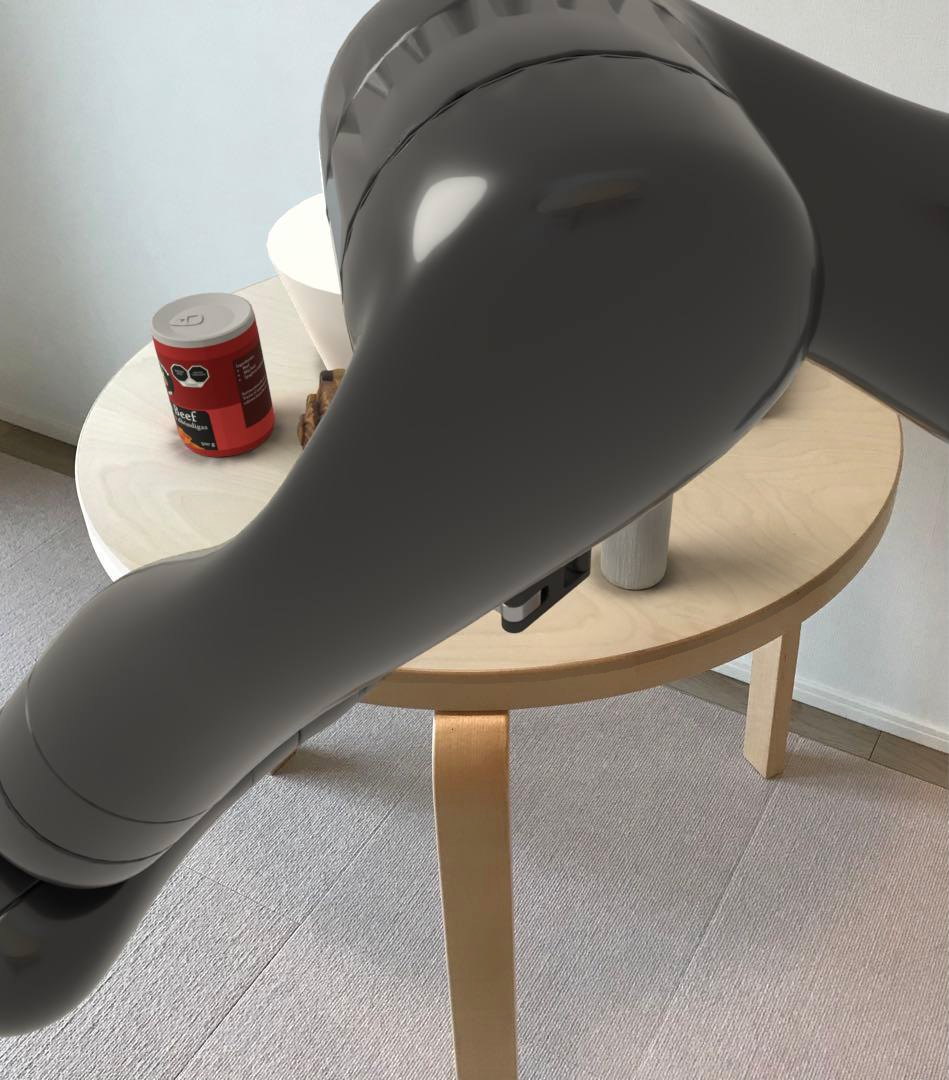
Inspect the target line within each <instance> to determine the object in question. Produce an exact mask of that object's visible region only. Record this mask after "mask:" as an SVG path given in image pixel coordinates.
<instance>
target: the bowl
mask: <svg viewBox="0 0 949 1080" xmlns="http://www.w3.org/2000/svg"><path fill="white" fill-rule="evenodd" d="M266 249H267V252H268V253H267V254H268V257H269V259H270V261H271V263H272V266H273V267H274V269H275V271H276V273H277V275H278V277H279V279H280V280H281V282H282V284H283V286H284V289H285V291H286V292H287V294H288V297H289V298H290V300H291V302H292V304H293V306H294V307H295V310H296V311H297V314H298V315H299V317H300V319H301V321H302V323H303V325H304V327H305V329H306V331H307V333H308V335H309V337H310V339H311V340H312V342H313V345H314V346H315V348H316V350H317V352H318V355H319V356H320V358H321V360H322V362H323V364H324V366H325V368H326V370H334V369H345V370H346V369H347V367H348V365H349V363H350V361H351V359H352V356H353V351H352V348H351V344H350V341H349V337H348V333H347V328H346V323H345V318H344V312H343V304H342V297H341V292H340V286H339V280H338V275H337V269H336V264H335V258H334V252H333V247H332V241H331V234H330V226H329V222H328V219H327V215H326V211H325V203H324V195H323V191H322V192H320V193H318V194H315V195H313V196H311V197H308V198H306V199H305V200H302V201H301V202H299V203H298V204H296V205H295V206H293V207H292V208H290V209H289V210H287V212H285V213H283V215H282V216H281V217H280V218H278V220H276V221H275V223H274V224H273V226H272V228H271V229H270V231H269V232H268V236H267V241H266Z"/></svg>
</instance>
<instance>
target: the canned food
mask: <svg viewBox="0 0 949 1080" xmlns="http://www.w3.org/2000/svg"><path fill="white" fill-rule="evenodd" d="M149 327H150V335H151V337H152V342H153V345H154V349H155V353H156V357H157V359H158V364H159V367H160V372H161V375H162V379H163V382H164V385H165V389H166V392H167V397H168V400H169V403H170V406H171V410H172V414H173V417H174V421H175V424H176V425H175V426H176V428H177V432H178V435H179V437H180V439H181V440H182V442H183V443H184V444H185V446H186V448H188V449H189V450H190V451H192V452H194V453H195V454H198V455H201V456H205V457H212V458H224V457H232V456H236V455H241V454H244V453H247V452H249V451H251V450H254V449H256V448H257V447H259V446H261V445H263V443H264V442H266V441H267V440H268V439H269V437H271V435H272V433H273V431H274V426H275V419H276V418H275V417H276V415H275V411H274V406H273V405H274V404H273V399H272V395H271V389H270V384H269V379H268V375H267V370H266V363H265V359H264V353H263V348H262V344H261V338H260V331H259V328H258V324H257V319H256V314H255V311H254V308H253V305H252V304H251V302H250V301H249V300H247V299H246V298H244V297H242V296H240V295H237V294H233V293H227V292H204V293H203V292H202V293H198V294H191V295H187V296H184V297H181V298H178V299H175V300H172V301H171V302H168V303H167V304H165V305H163V306H161V307H160V308H159V309H158V310H156V312H154V313H153V315H152V316H151V318H150V322H149Z"/></svg>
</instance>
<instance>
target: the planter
mask: <svg viewBox="0 0 949 1080" xmlns="http://www.w3.org/2000/svg"><path fill="white" fill-rule="evenodd" d="M673 502H674V494H673V495H671V496H670V497H669V498H667V499H666V500H664V501H663V502H662V503H660V504H659V505H657V506H656V507H655V508H653V509H652V510H650V511H649V512H647V513H646V514H644V515H643V516H641V517H640V518H638V519H637V520H635V521H634V522H632V523H631V524H629V525H628V526H626V527H625V528H623V529H622V530H620V531H618V532H617V533H615V534H614V535H612V536H610V537H609V538H607V539H606V540H604V541H602V542H601V543H600V544H601V545H600V571H601V574H602V575H603V577H604V578H605V579H606V580H607V581H608V582H609V583H611V584H612V585H614V586H617V587H618V588H621V589H626V590H644V589H648V588H651V587H653V586H655V585H657V584H658V583H660V581H662V580H663V578H664V576H665V575H666V571H667V563H668V555H669V554H668V553H669V544H670V534H671V533H670V532H671V524H672V523H671V522H672V513H673V504H674V503H673Z"/></svg>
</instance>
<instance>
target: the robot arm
mask: <svg viewBox="0 0 949 1080" xmlns="http://www.w3.org/2000/svg"><path fill="white" fill-rule="evenodd" d="M318 158H319V168H320V178H321V187H322V192H323V195H324V203H325V211H326V215H327V219H328V222H329V226H330V234H331V241H332V247H333V252H334V258H335V264H336V269H337V275H338V280H339V286H340V292H341V297H342V304H343V312H344V318H345V323H346V328H347V333H348V337H349V341H350V344H351V348H352V351H353V356H352V359H351V361H350V363H349V365H348V367H347V369H346V372H345V374H344V376H343V378H342V380H341V382H340V384H339V386H338V388H337V390H336V392H335V394H334V396H333V398H332V401H331V403H330V405H329V407H328V408H327V410H326V412H325V414H324V415H323V417H322V419H321V421H320V422H319V424H318V426H317V427H316V429H315V431H314V433H313V434H312V436H311V438H310V440H309V441H308V443H307V445H306V447H305V448H304V450H303V449H302V451H301V453H300V455H299V456H298V458H297V459H296V461H295V463H294V464H293V466H292V467H291V469H290V471H289V472H288V474H287V475H286V476H285V478H284V480H283V481H282V483H281V485H280V486H279V488H278V489H277V490H276V491H275V493H274V494H273V495H272V497H271V498H270V500H269V501H268V502H267V503H266V504H265V506H264V507H263V508H262V509H261V510H260V512H259V513H258V514H257V515H255V517H254V518H253V519H252V520H251V521H250V522H249V523H248V524H247V525H246V526H244V528H242V529H241V531H240V532H239V533H237V534H236V535H235V536H233V537H231V538H230V539H228V540H226V541H223V542H222V543H220V544H217V545H214V546H211V547H207V548H200V549H196V550H192V551H186V552H184V553H183V552H182V553H178V554H176V555H172V556H168V557H164V558H161V559H159V560H155V561H152V562H149V563H147V564H144V565H142V566H139V567H137V568H135V569H132V570H131V571H129V572H128V573H125V574H123V575H122V576H120V577H119V578H116V579H115V580H114V581H113V582H111V583H110V584H108V585H107V586H105V587H104V588H103V589H101V590H100V591H99V592H98V593H96V594H95V595H93V596H92V597H91V598H89V600H88V601H87V602H86V603H84V604H83V605H82V606H81V607H80V608H79V609H78V610H77V611H76V612H75V614H74V615H73V616H72V617H71V618H70V619H69V620H68V621H67V623H66V624H65V625H64V626H63V628H61V630H60V631H59V632H58V633H57V634H56V635H55V637H54V638H53V639H52V640H51V641H50V642H49V644H48V645H47V647H46V648H45V649H44V651H42V653H41V655H40V657H38V659H37V660H36V662H35V663H34V664H33V666H32V668H30V670H29V671H28V673H27V674H26V675H25V676H24V678H23V679H22V681H21V682H20V683H19V685H17V688H16V689H15V690H14V691H13V693H12V694H11V696H10V697H9V698H8V699H7V700H6V701H5V703H4V704H3V706H2V708H1V709H0V1038H3V1039H5V1038H12V1037H13V1038H14V1037H19V1036H25V1035H28V1034H32V1033H34V1032H38V1031H41V1030H43V1029H45V1028H47V1027H49V1026H51V1025H53V1024H54V1023H57V1022H58V1021H60V1020H62V1019H64V1017H66V1016H67V1015H68V1014H70V1013H71V1012H73V1011H74V1010H76V1009H77V1008H78V1007H79V1006H80V1005H81V1004H82V1003H83V1002H84V1001H85V1000H86V999H87V998H88V997H89V996H90V995H91V994H92V993H93V992H94V990H95V989H96V988H97V987H98V985H99V984H100V983H101V982H102V980H103V979H104V978H105V977H106V975H107V974H108V973H109V972H110V970H111V968H112V967H113V966H114V964H115V963H116V961H117V960H118V958H119V957H120V955H121V953H122V952H123V951H124V949H125V948H126V946H127V944H128V943H129V941H130V940H131V938H132V936H133V935H134V933H135V932H136V930H137V929H138V927H139V926H140V924H141V922H142V921H143V919H144V918H145V916H146V915H147V913H148V912H149V910H150V908H151V906H152V905H153V903H154V902H155V901H156V899H157V897H158V896H159V894H160V893H161V891H162V890H163V888H164V887H165V885H166V884H167V883H168V882H169V880H170V878H171V877H172V876H173V875H174V873H175V872H176V870H177V869H178V868H179V867H180V865H181V864H182V862H183V861H184V860H185V858H186V857H187V855H188V854H189V853H190V852H191V850H192V849H194V847H195V846H196V844H198V842H199V841H200V840H201V839H202V837H203V836H204V835H205V834H206V833H207V832H208V831H209V830H210V829H211V828H212V826H214V825H215V823H216V822H217V821H218V820H219V819H220V818H222V816H223V815H224V814H225V813H226V812H227V811H228V810H229V809H230V808H231V807H232V806H233V805H234V804H236V803H237V802H238V801H239V800H240V799H241V798H242V797H243V796H244V795H245V794H246V793H247V792H249V791H250V790H251V789H252V788H253V787H254V786H256V784H258V783H259V782H260V781H262V779H264V777H266V776H267V775H268V774H270V773H271V772H272V771H273V770H274V769H275V768H276V767H277V766H279V764H281V763H282V762H283V761H284V760H285V759H286V758H288V756H290V755H291V754H292V753H294V751H295V750H296V749H298V748H299V747H301V746H302V745H303V744H304V743H305V742H307V741H308V740H310V739H311V738H313V737H314V736H315V735H318V734H319V733H321V732H322V731H324V730H325V729H327V728H328V727H330V726H331V725H333V724H334V723H336V722H337V721H338V720H339V719H341V718H342V717H343V716H344V715H345V714H347V713H348V712H349V711H350V710H351V709H352V708H354V706H355V705H357V704H358V703H359V702H360V701H362V699H364V698H365V697H366V696H367V695H368V694H369V693H370V692H371V691H373V690H374V689H375V688H376V687H377V686H378V685H380V684H381V683H383V681H384V680H385V679H387V677H389V676H390V675H392V673H393V672H395V671H396V670H397V669H399V668H401V667H402V666H404V665H406V664H407V663H409V662H411V661H413V660H414V659H416V658H417V657H420V656H421V655H423V654H424V653H426V652H427V651H429V650H431V649H432V648H434V647H436V646H438V645H439V644H440V643H442V642H444V641H446V640H447V639H450V637H452V636H454V635H456V634H457V633H459V632H461V631H462V630H464V629H466V628H468V627H469V626H470V625H472V624H474V623H475V622H476V621H478V620H480V619H481V618H483V617H484V616H486V615H487V614H489V613H490V612H492V611H493V610H494V611H496V612H497V613H498V614H500V618H501V619H500V621H501V623H500V624H501V628H502V629H503V631H505V633H508V634H520V633H522V632H524V631H526V629H527V628H529V627H530V626H531V625H532V624H534V623H535V622H536V621H537V620H539V618H541V617H542V616H543V615H544V614H545V613H547V612H548V611H549V610H550V609H551V608H553V607H554V606H555V605H556V604H558V603H559V602H560V601H561V600H562V599H563V598H564V597H566V596H567V595H569V594H570V593H571V592H572V591H573V590H574V589H575V588H577V587H578V586H579V585H580V584H582V583H583V582H584V581H585V580H586V579H587V578H589V576H590V575H591V569H592V549H593V548H594V547H596V546H597V545H599V544H601V542H602V541H604V540H606V539H607V538H609V537H610V536H612V535H614V534H615V533H617V532H618V531H620V530H622V529H623V528H625V527H626V526H628V525H629V524H631V523H632V522H634V521H635V520H637V519H638V518H640V517H641V516H643V515H644V514H646V513H647V512H649V511H650V510H652V509H653V508H655V507H656V506H657V505H659V504H660V503H662V502H663V501H664V500H666V499H667V498H669V497H670V496H671V495H673V496H674V495H675V493H677V492H679V491H680V490H681V489H683V488H684V487H686V486H687V485H688V484H690V483H691V482H692V481H693V480H694V479H695V478H697V477H698V476H700V475H701V474H702V473H703V472H704V471H706V470H707V469H709V468H710V467H711V466H712V465H713V464H715V463H716V462H717V461H718V460H720V459H721V458H722V457H723V456H725V455H726V454H727V453H728V452H730V450H731V449H733V447H735V446H736V445H737V444H738V443H739V442H740V441H741V440H742V439H743V438H744V437H745V436H746V435H747V434H749V432H751V431H752V430H753V429H754V428H755V427H756V426H757V425H758V423H759V422H760V421H761V420H762V419H763V418H764V417H765V415H767V414H768V412H769V411H770V409H772V407H773V406H774V405H775V404H776V402H777V401H778V400H779V399H780V397H781V396H782V395H784V393H785V392H786V390H787V389H788V388H789V386H790V384H792V382H793V380H794V379H795V377H796V376H797V374H798V372H799V371H800V370H801V367H802V365H803V364H804V361H805V362H807V363H808V364H811V365H812V366H815V367H817V368H820V369H821V370H823V371H824V372H827V373H829V374H830V375H832V376H833V377H834V378H837V379H839V380H840V381H842V382H844V383H845V384H847V385H849V386H850V387H852V388H854V389H856V390H858V391H859V392H861V394H864V395H865V396H867V397H869V398H870V399H872V400H873V401H875V402H877V403H878V404H880V405H881V406H883V407H885V408H886V409H888V410H889V411H891V412H893V413H895V414H896V415H898V416H899V417H901V418H903V419H905V420H906V421H907V422H909V423H910V424H913V425H914V426H916V427H918V428H920V429H921V430H923V431H925V432H926V433H927V434H930V435H931V436H932V437H934V438H936V439H938V440H940V441H942V442H943V443H945V444H947V445H949V112H946V111H944V110H943V111H942V110H939V109H937V108H936V109H935V108H932V107H929V106H926V105H924V104H920V103H917V102H914V101H912V100H910V99H905V98H904V97H901V96H897V95H894V94H891V93H889V92H887V91H884V90H882V89H880V88H877V87H875V86H873V85H870V84H868V83H865V82H863V81H861V80H858V79H856V78H854V77H852V76H849V75H848V74H845V73H844V72H841V71H839V70H837V69H835V68H833V67H830V66H828V65H826V64H824V63H822V62H821V61H818V60H817V59H813V58H812V57H809V56H807V55H805V54H804V53H801V52H799V51H797V50H795V49H792V48H791V47H788V46H786V45H784V44H782V43H780V42H777V41H775V40H774V39H772V38H770V37H767V36H765V35H763V34H760V33H759V32H756V31H754V30H753V29H750V28H748V27H747V26H745V25H742V24H740V23H739V22H737V21H734V20H733V19H730V18H728V17H726V16H724V15H722V14H720V13H718V12H716V11H714V10H712V9H709V8H708V7H707V6H704V5H702V4H700V3H698V2H696V1H694V0H378V2H376V3H375V4H374V5H373V6H372V7H371V8H370V9H369V10H368V11H367V12H366V13H365V14H363V16H362V17H361V18H360V19H359V21H358V22H357V23H356V24H355V26H354V27H353V28H352V30H351V31H350V32H349V33H348V34H347V36H346V37H345V39H344V41H343V43H342V44H341V46H340V48H339V49H338V51H337V53H336V55H335V57H334V60H333V62H332V64H331V65H330V68H329V71H328V74H327V77H326V80H325V83H324V86H323V92H322V96H321V101H320V108H319V121H318Z"/></svg>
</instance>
